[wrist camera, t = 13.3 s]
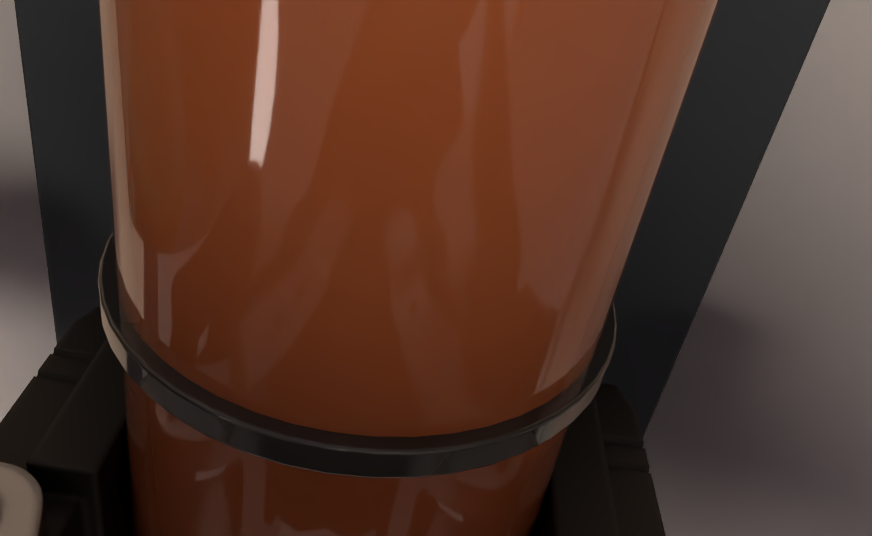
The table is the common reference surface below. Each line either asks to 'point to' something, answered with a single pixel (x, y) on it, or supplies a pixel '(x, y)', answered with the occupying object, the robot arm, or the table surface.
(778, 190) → the table surface
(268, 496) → the banded orange roll
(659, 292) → the rubber mat
